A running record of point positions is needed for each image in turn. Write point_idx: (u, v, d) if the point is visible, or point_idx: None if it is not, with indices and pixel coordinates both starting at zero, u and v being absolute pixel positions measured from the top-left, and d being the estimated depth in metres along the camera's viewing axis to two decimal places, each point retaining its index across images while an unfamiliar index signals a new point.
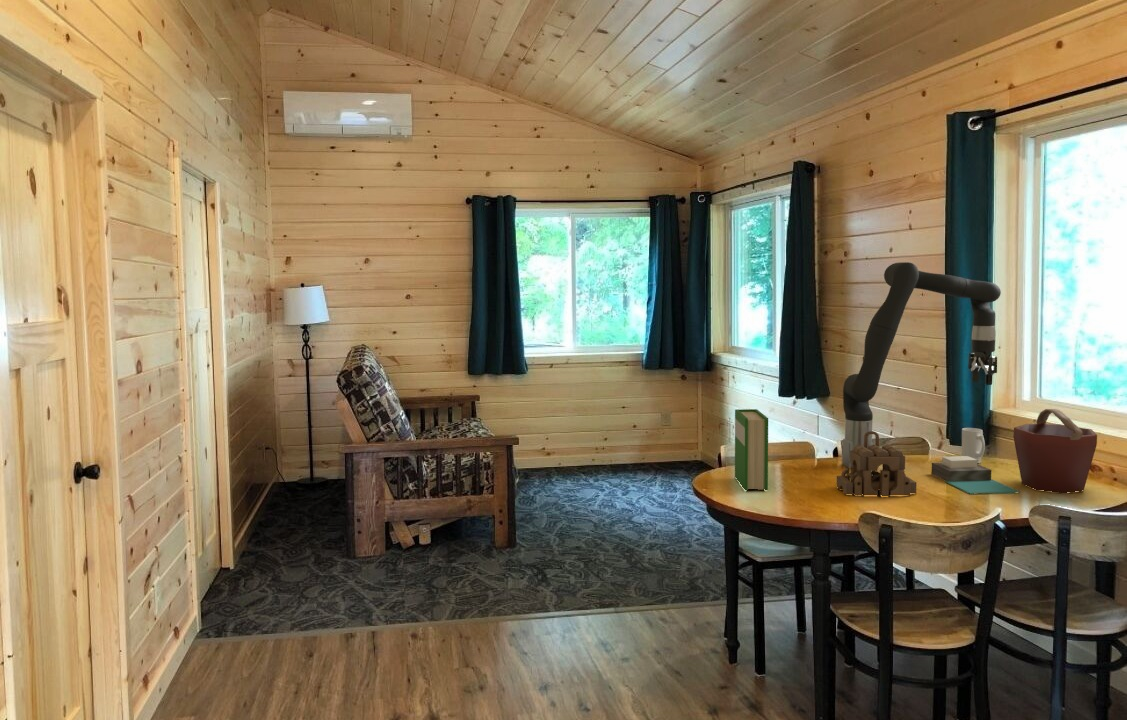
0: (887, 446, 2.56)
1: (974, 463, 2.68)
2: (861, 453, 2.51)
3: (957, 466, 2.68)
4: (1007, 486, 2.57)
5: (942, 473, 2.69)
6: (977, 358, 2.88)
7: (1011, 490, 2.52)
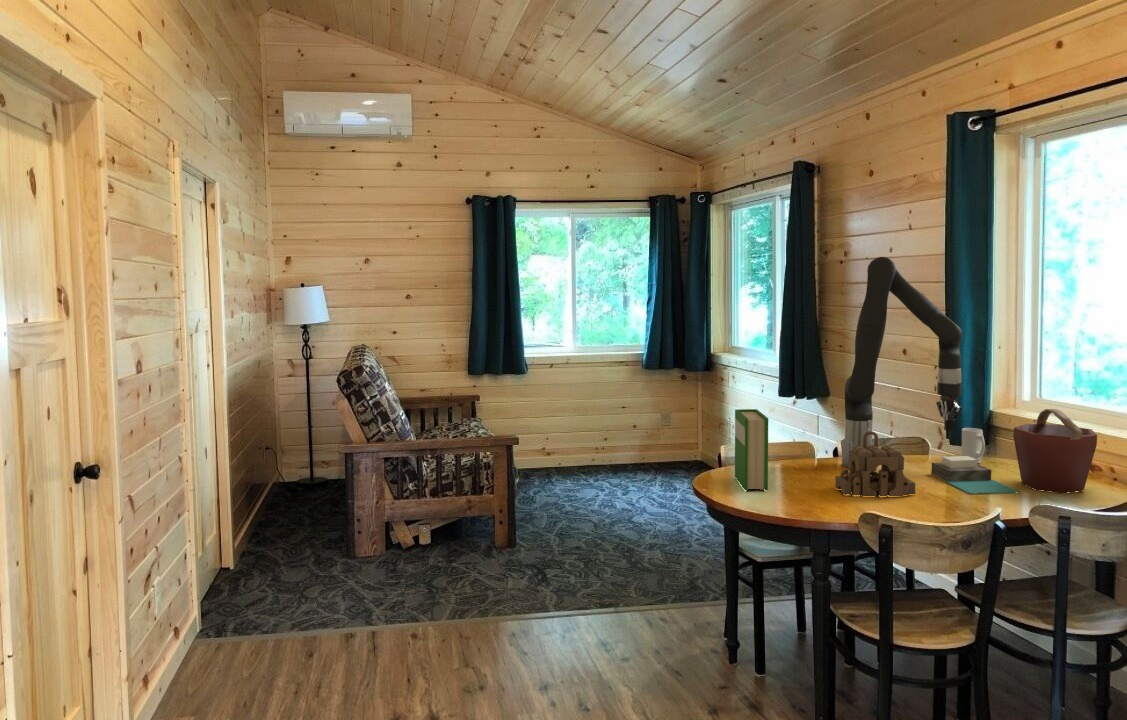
0: (886, 447, 2.56)
1: (974, 463, 2.68)
2: (860, 453, 2.51)
3: (957, 466, 2.68)
4: (1007, 486, 2.57)
5: (942, 473, 2.69)
6: (943, 400, 2.78)
7: (1011, 490, 2.52)
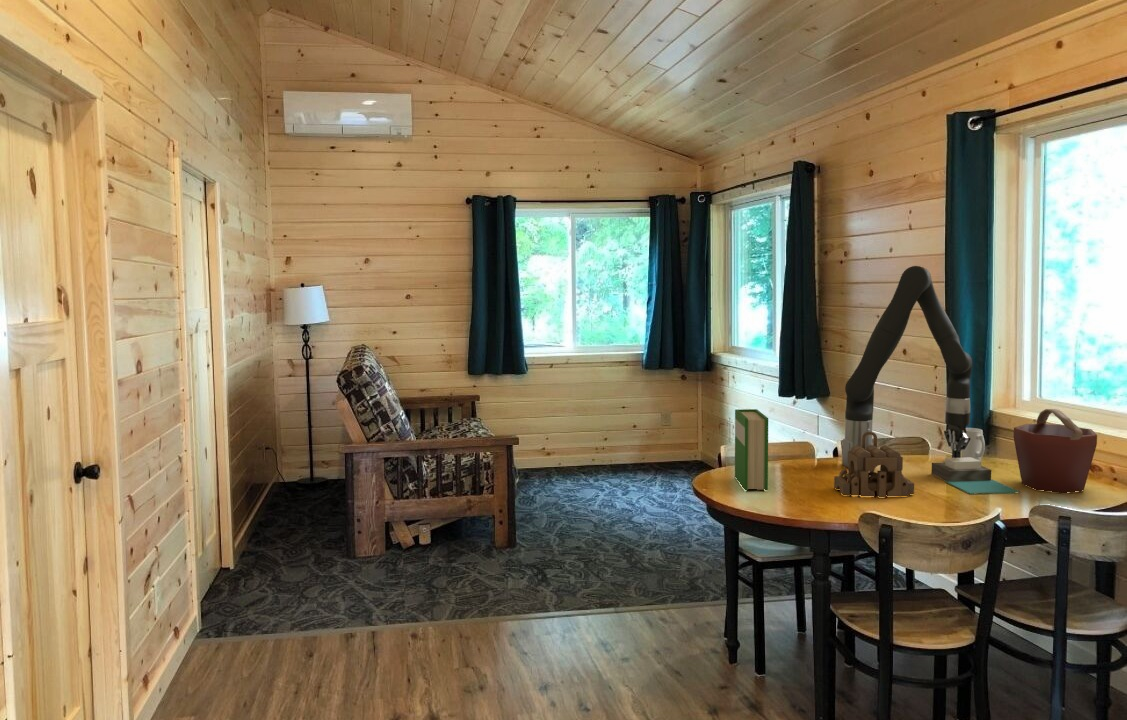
0: (885, 447, 2.55)
1: (978, 464, 2.66)
2: (858, 454, 2.50)
3: (961, 467, 2.66)
4: (1007, 486, 2.57)
5: (942, 473, 2.69)
6: (951, 430, 2.73)
7: (1011, 490, 2.52)
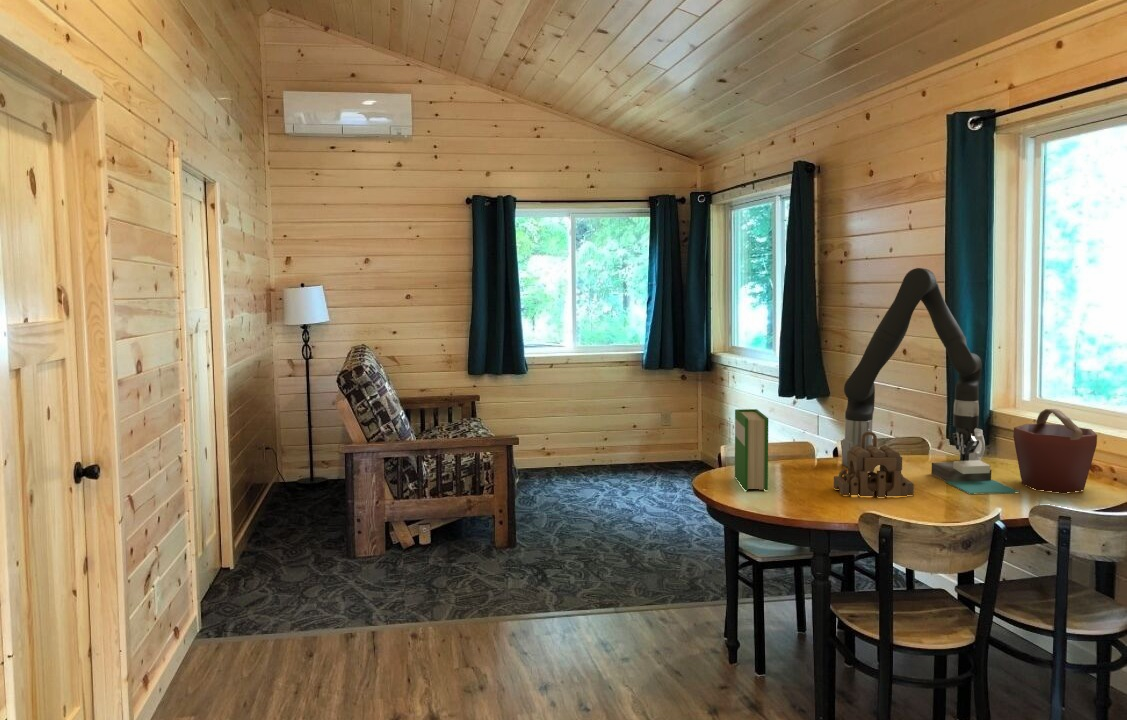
0: (884, 447, 2.55)
1: (986, 469, 2.61)
2: (858, 454, 2.50)
3: (969, 472, 2.61)
4: (1007, 486, 2.57)
5: (942, 473, 2.69)
6: (959, 433, 2.68)
7: (1011, 490, 2.52)
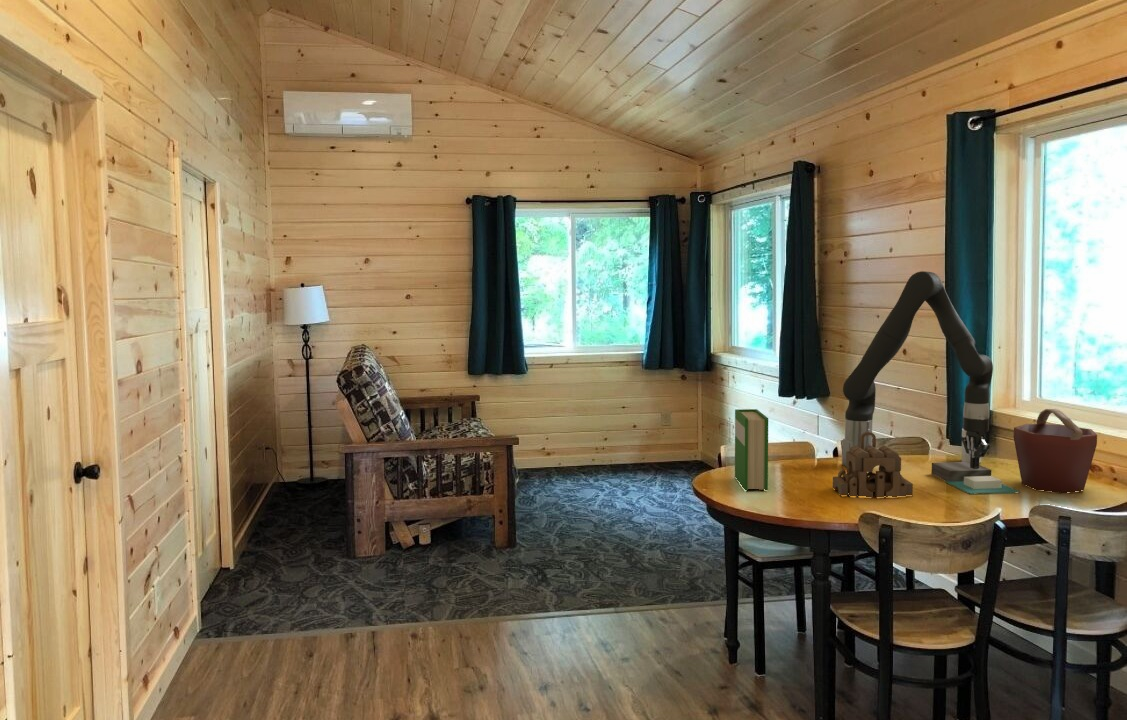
0: (884, 447, 2.55)
1: None
2: (856, 454, 2.50)
3: None
4: (1007, 486, 2.57)
5: (942, 473, 2.69)
6: (969, 436, 2.62)
7: (1011, 490, 2.52)
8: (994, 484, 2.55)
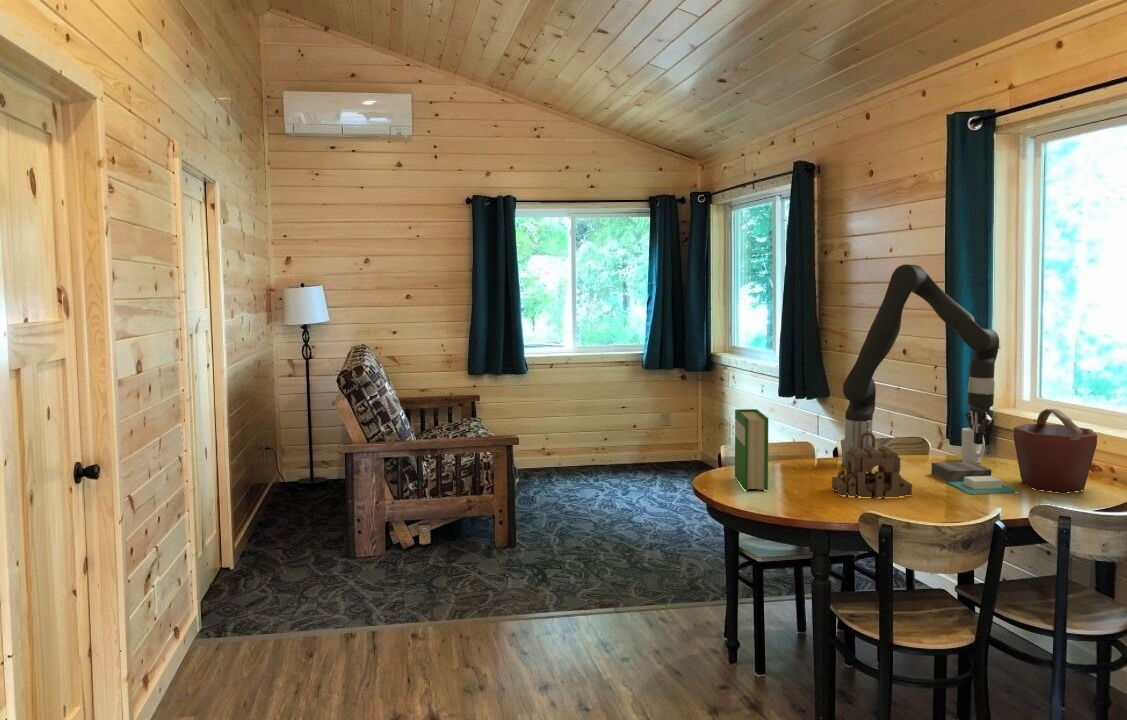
0: (883, 447, 2.54)
1: None
2: (855, 454, 2.50)
3: None
4: (1007, 486, 2.57)
5: (942, 473, 2.69)
6: (973, 411, 2.59)
7: (1011, 490, 2.52)
8: (994, 484, 2.55)
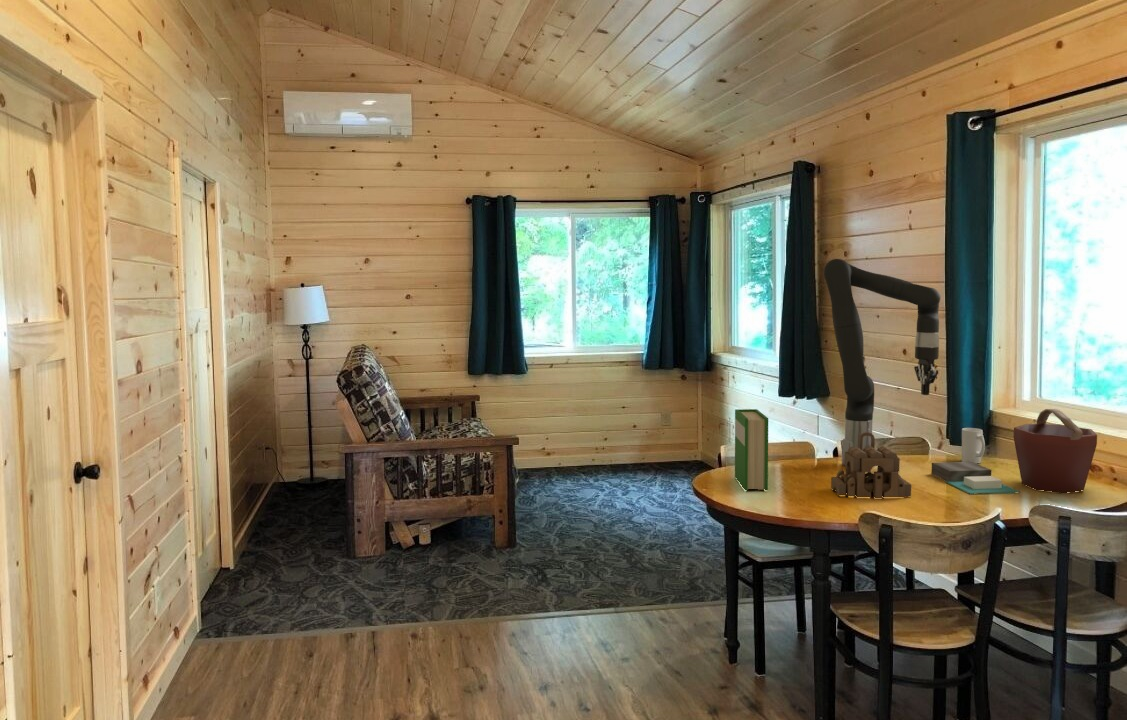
0: (882, 448, 2.54)
1: None
2: (854, 454, 2.50)
3: None
4: (1007, 486, 2.57)
5: (942, 473, 2.69)
6: (920, 364, 2.79)
7: (1011, 490, 2.52)
8: (994, 484, 2.55)
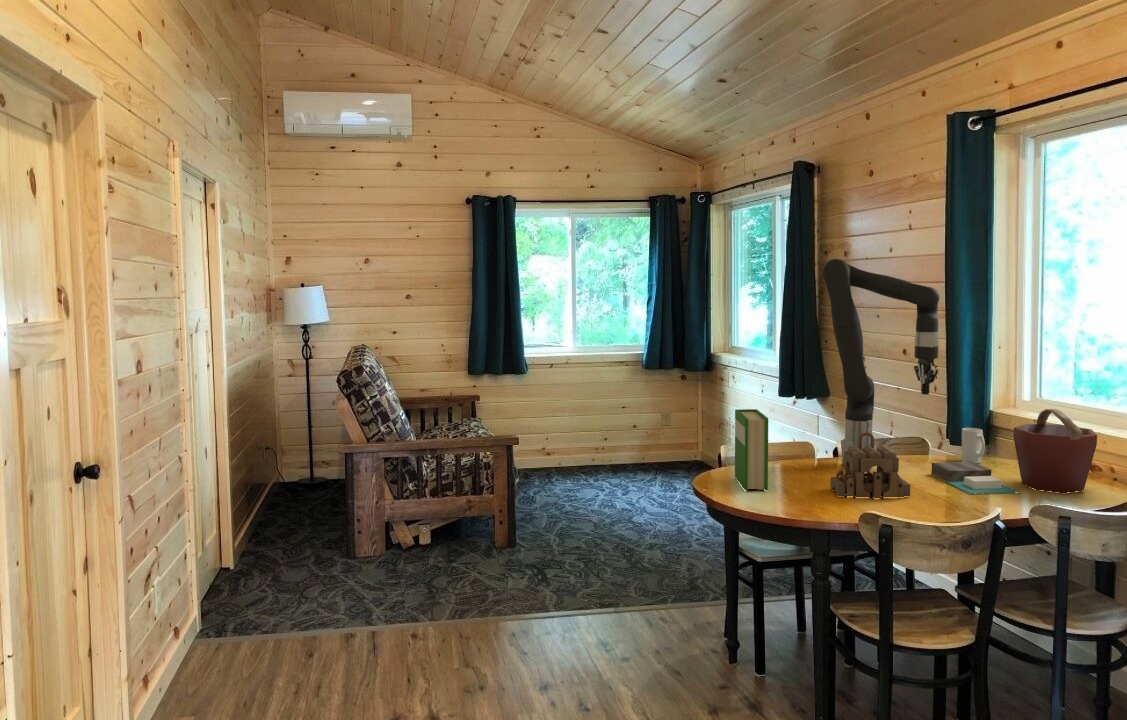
0: (881, 448, 2.54)
1: None
2: (854, 454, 2.49)
3: None
4: (1007, 486, 2.57)
5: (942, 473, 2.69)
6: (920, 364, 2.79)
7: (1011, 490, 2.52)
8: (994, 484, 2.55)
